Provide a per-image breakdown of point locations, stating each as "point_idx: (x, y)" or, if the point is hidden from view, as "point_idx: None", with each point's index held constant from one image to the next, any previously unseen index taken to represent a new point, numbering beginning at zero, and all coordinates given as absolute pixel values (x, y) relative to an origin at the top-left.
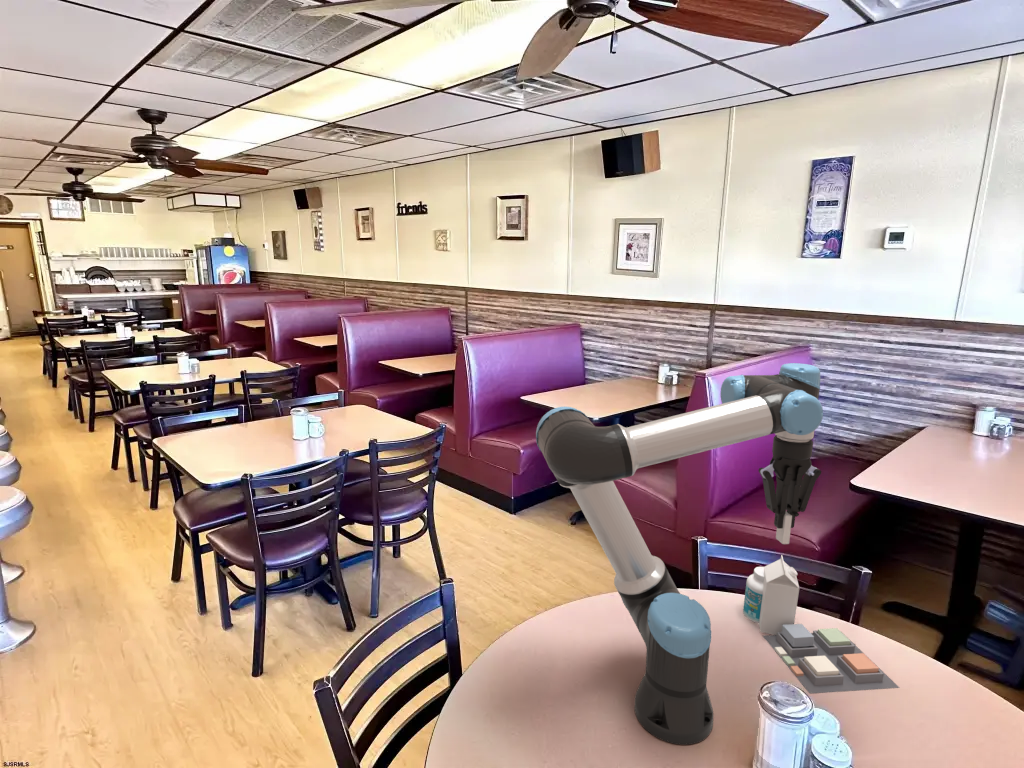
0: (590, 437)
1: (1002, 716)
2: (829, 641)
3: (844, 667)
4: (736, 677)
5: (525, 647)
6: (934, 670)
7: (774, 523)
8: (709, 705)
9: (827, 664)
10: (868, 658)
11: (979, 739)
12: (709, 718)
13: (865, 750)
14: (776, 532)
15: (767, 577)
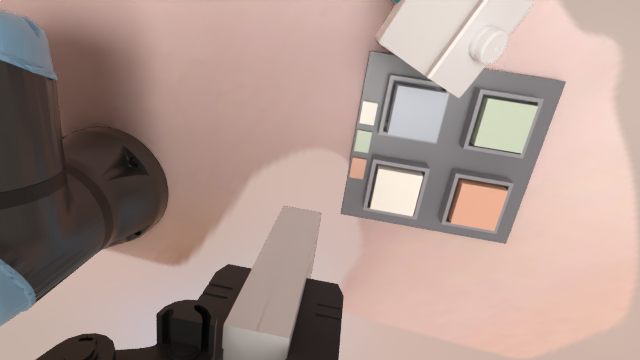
0: None
1: (606, 316)
2: (474, 141)
3: (447, 192)
4: (249, 139)
5: None
6: (630, 218)
7: (214, 278)
8: (133, 233)
9: (405, 197)
10: (502, 206)
11: (517, 331)
12: (141, 230)
13: (343, 300)
14: (275, 222)
15: (398, 19)
